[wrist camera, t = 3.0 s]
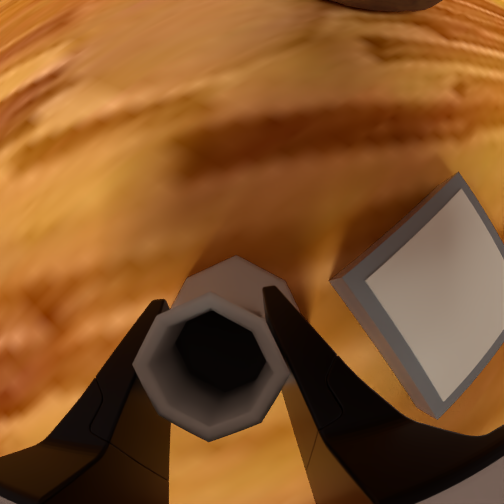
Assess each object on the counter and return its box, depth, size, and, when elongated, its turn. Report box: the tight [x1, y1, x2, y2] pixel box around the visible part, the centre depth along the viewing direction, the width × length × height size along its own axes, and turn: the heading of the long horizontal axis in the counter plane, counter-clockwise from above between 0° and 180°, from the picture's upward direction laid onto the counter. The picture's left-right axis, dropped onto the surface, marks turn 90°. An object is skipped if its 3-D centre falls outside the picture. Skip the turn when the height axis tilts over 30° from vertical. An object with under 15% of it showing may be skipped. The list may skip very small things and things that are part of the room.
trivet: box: [329, 172, 504, 420], centre depth 15 cm, size 10×10×3 cm
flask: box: [132, 255, 300, 442], centre depth 11 cm, size 7×7×10 cm
